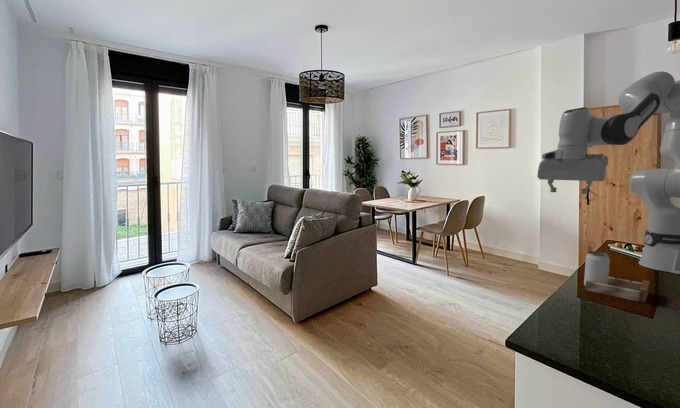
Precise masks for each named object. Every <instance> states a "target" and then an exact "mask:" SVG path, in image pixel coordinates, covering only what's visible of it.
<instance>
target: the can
mask: <svg viewBox="0 0 680 408" xmlns="http://www.w3.org/2000/svg"><path fill="white" fill-rule="evenodd" d="M609 255H610V254H608V253H606V252H602V251H597V250H596V251H595V250H591V251H589V250H588V251H587V254H586V256H585V264H584V279H583V285H584V286H585V285H586V281H592V282H597V283H602V284H608V278H609V277H610V276H609V275H610V266H611V265H610V264H611V263H610V262H611V260H610V259H611V258H610V257H609Z"/></svg>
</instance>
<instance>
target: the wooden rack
mask: <svg viewBox="0 0 680 408" xmlns="http://www.w3.org/2000/svg"><path fill="white" fill-rule="evenodd" d="M584 287H585V288H584V290H585V291H587V292H593V293H597V294H601V295H606V296H612V297H615V298H621V299H626V300H630V301H634V302H639V303H643V304H646V301H647V298H648V296H649V295H648V294H649V288H650V280H645V279H643V280H642V281H641V282H639V281H634V280H632V279H624V278H618V277H612V276H609V278H608V284H602V283H597V282H592V281H586V285H584Z"/></svg>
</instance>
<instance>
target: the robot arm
mask: <svg viewBox="0 0 680 408" xmlns="http://www.w3.org/2000/svg"><path fill="white" fill-rule="evenodd" d="M618 105H619V108H620V109H621V111H622V112H623V113H621V114H616V115H612V116H611V115H610V116H603V117H596V116H595V115H593V114H591V113H590V110H589V109H590V108H589V107H585V106H584V107H577V108H572V109H568V110H565V111H564V112H563V113H562V114H561V118H560V120H559V121H560V122H559V125H558V126H559V127H558V138H559V142H558V144H557V149H555V150H552V151H549V152H545V153H542V156H541V158H542V160H541V161H540V162H539V165H538V169H537V174H536V175H537V176H536V177H537V178H538V180H545V181H547V184H548V186H549V188H550V193H557V187H554V185H553V183H554V182H555V181H556V180H557V181H577V182H578V181H580V182H581V181H582V182H583V181H584V182H585V181H586V182H585V184H586V187H584V188H581V193H580V194H581V195H588V191H589V189H590V187H591V186H592V185H593V182H604V181H605V180H606V177H607V169H606V167H608V164H609V158H608V156H607V155H604V154H603V153H588V150H589V149H588V148H589V146H590V147H593V146H610V145H611V146H624V145H626V144H628V143H630V142H631V141H632V140H633V139H634V138H635V137H636V135H637V134H638V132H639V130H640V129H641V128H642V126H644V124H645V123H647V122H648V120H649V119H650V118H652V116H655V115H657V116H658V115H659V114H669V118H668V120H667V123H666V125H665V128H664V132H663V135H662V139H661V142H660V143H661V144H660V147H659V153H660V155H661V156H662V157H663V158H665V159H667V160H669V161H672V162H675V166H674V168H647V169H646V168H645V169H640V170H638V169H637V170H635V172H633V173H632V174H631V176H630V177H629V181H628V186H629V188H630V191H632V192H633V193H634V194H636V195H637V196H638V197H639V198H640V199H641V200H642V201H643V203H644V204H645V207H646V210H647V229H646V230H645V233H644V234H645V235H644V247H643V252H642V254H641V257H640V259H639V261H638V264H639V265H640V266H641V267H645V268H648V269H652V270H656V271H660V272H668V273H673V274H676V275H680V207H679V206H677V205H675V204H673V202H672V200H671V198H679V199H680V80H675V78H674V76H673V75H672V74H671V73H669V72H666V71H654V72H652V73H649V74H647V75H645V76H644V77H642V78H640V79H638V80H636V81H635V82H634V83H632V84H631V85H629V86H628V87H627V88H626V89H624V90H623V91H622V92H621V94H620V95H619V97H618Z"/></svg>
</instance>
